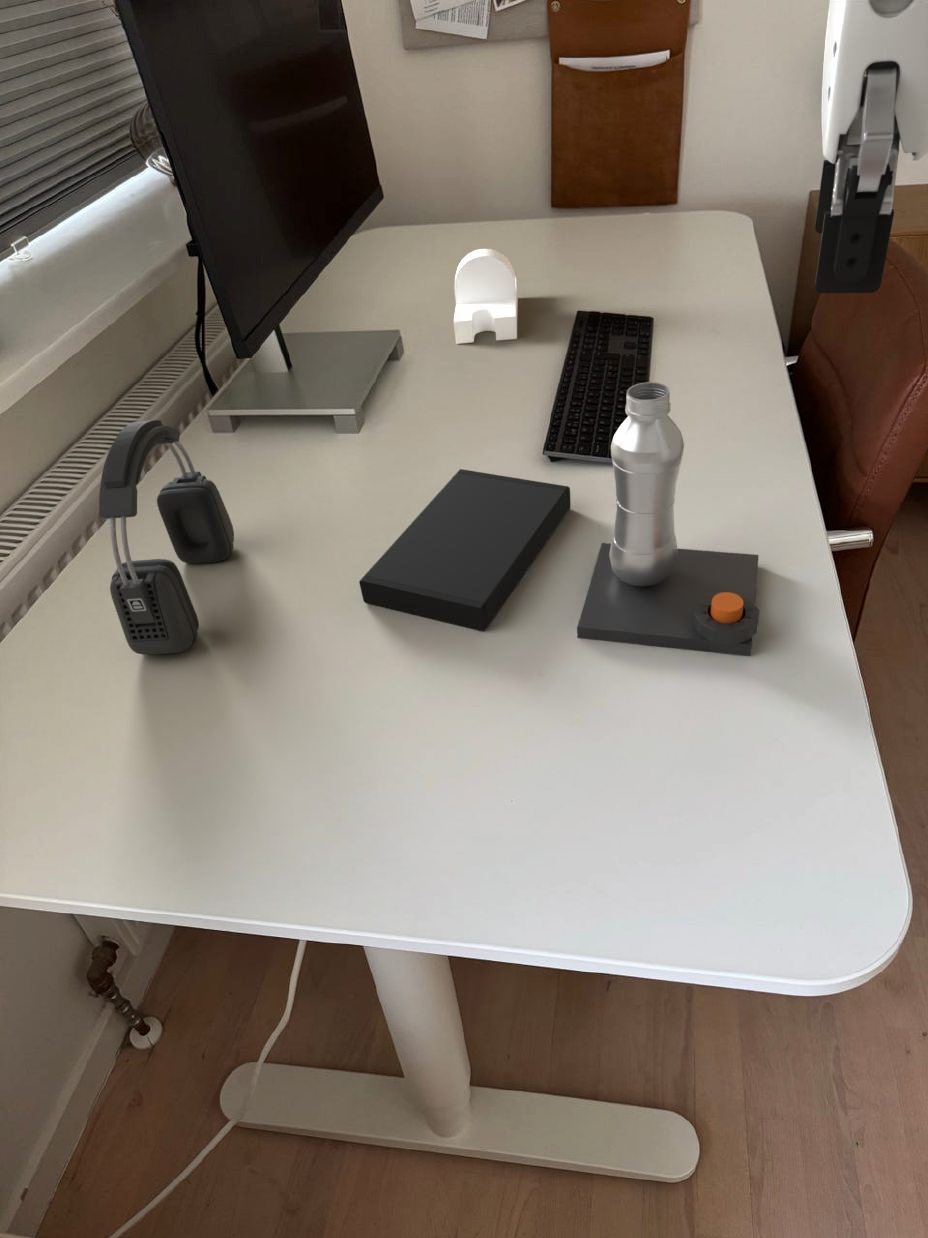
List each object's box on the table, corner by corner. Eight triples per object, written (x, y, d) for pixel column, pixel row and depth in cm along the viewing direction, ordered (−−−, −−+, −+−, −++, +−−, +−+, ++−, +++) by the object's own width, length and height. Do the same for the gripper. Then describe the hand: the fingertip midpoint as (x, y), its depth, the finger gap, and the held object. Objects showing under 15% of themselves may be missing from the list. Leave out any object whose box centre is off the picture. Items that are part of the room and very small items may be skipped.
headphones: (190, 663, 89) (120, 492, 77) (130, 666, 90) (50, 498, 77) (241, 536, 106) (190, 379, 94) (190, 540, 107) (133, 384, 94)
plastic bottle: (598, 566, 92) (596, 385, 79) (658, 549, 93) (665, 368, 80) (625, 601, 87) (627, 415, 74) (688, 583, 88) (701, 397, 75)
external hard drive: (363, 602, 94) (358, 580, 92) (461, 489, 109) (459, 468, 107) (485, 632, 88) (482, 608, 86) (570, 508, 103) (570, 486, 101)
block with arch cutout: (516, 338, 142) (511, 268, 135) (456, 343, 143) (448, 274, 136) (517, 297, 156) (513, 231, 149) (462, 302, 157) (455, 237, 150)
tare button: (742, 606, 83) (744, 593, 82) (741, 625, 81) (742, 612, 80) (711, 603, 84) (712, 590, 83) (709, 622, 82) (710, 609, 81)
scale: (760, 565, 91) (763, 541, 89) (754, 659, 81) (757, 634, 79) (601, 553, 96) (601, 530, 94) (576, 640, 86) (575, 616, 84)
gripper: (1034, -138, 33) (930, 319, 44) (974, -147, 45) (905, 210, 56) (816, -110, 35) (769, 318, 46) (816, -126, 47) (779, 214, 58)
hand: (844, 258), depth 51 cm, fingers open, 9 cm apart
